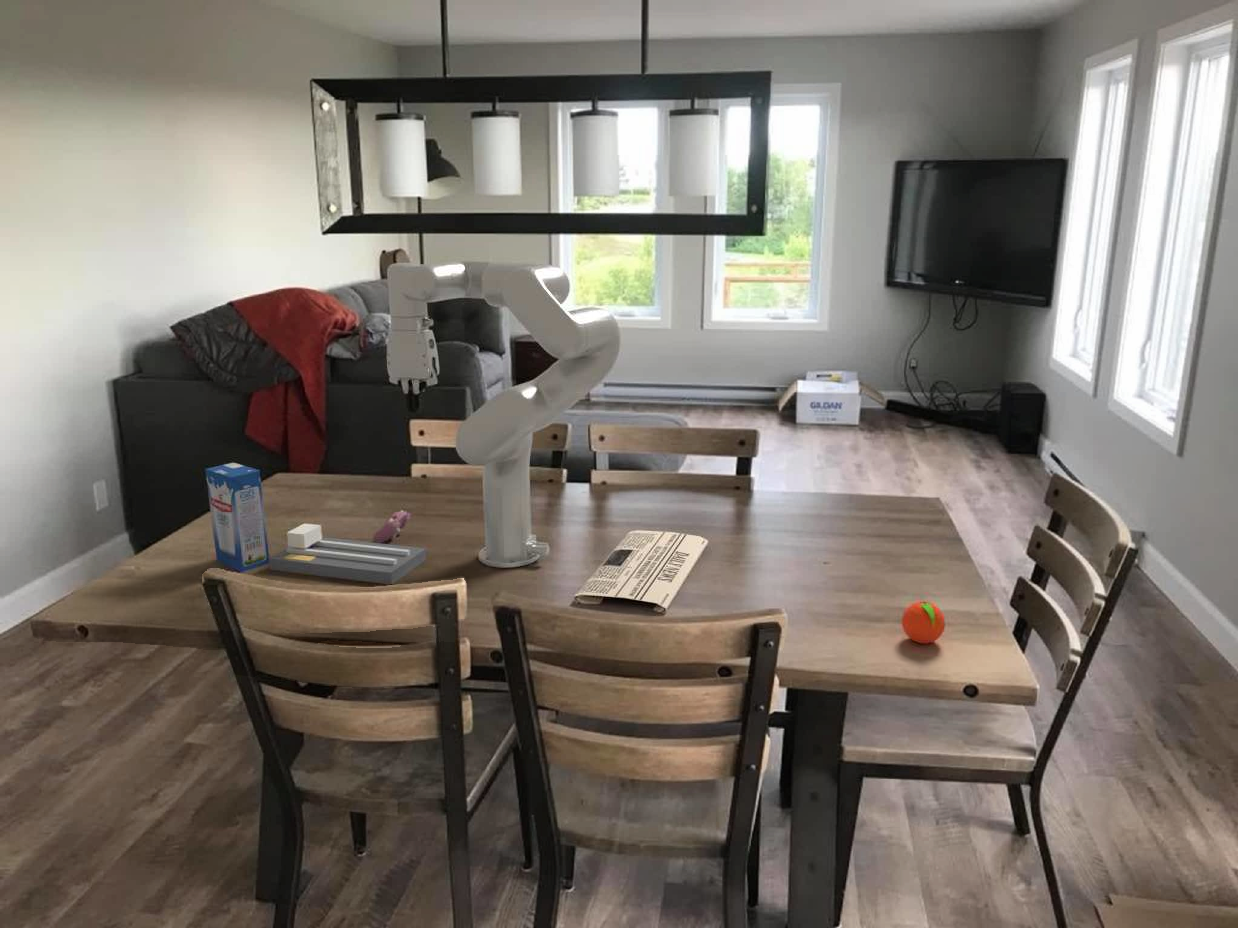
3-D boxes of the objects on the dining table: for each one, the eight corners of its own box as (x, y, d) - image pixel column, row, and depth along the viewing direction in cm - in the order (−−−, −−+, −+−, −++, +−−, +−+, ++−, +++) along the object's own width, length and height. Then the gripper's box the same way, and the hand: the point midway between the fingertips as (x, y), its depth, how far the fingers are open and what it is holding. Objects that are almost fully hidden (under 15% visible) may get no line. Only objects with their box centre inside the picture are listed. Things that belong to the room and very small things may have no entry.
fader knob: (322, 543, 207) (320, 525, 206) (305, 552, 202) (303, 534, 201) (306, 541, 209) (304, 523, 208) (288, 551, 203) (286, 532, 202)
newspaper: (629, 540, 217) (629, 528, 216) (716, 548, 212) (716, 536, 211) (573, 605, 183) (573, 591, 183) (675, 617, 178) (675, 603, 177)
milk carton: (216, 561, 206) (205, 468, 200) (244, 552, 210) (233, 462, 205) (242, 572, 200) (230, 477, 194) (270, 563, 204) (259, 470, 199)
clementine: (953, 652, 162) (956, 612, 160) (912, 654, 162) (915, 614, 160) (933, 631, 170) (936, 592, 168) (894, 633, 169) (897, 594, 167)
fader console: (426, 559, 205) (425, 544, 204) (391, 584, 192) (390, 568, 192) (310, 546, 214) (309, 531, 213) (270, 569, 201) (268, 553, 200)
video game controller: (388, 551, 215) (400, 525, 212) (370, 541, 215) (381, 515, 213) (406, 536, 224) (417, 511, 222) (388, 527, 224) (399, 501, 222)
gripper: (450, 323, 205) (455, 409, 210) (386, 320, 209) (393, 405, 214) (433, 327, 198) (438, 417, 203) (367, 325, 202) (374, 413, 207)
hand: (415, 411), depth 208 cm, fingers closed
